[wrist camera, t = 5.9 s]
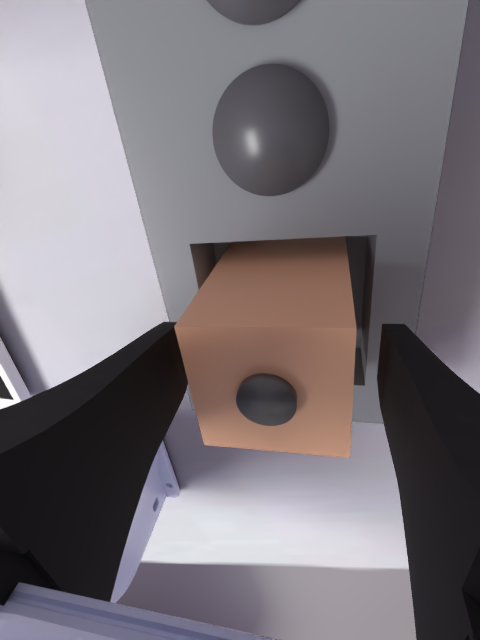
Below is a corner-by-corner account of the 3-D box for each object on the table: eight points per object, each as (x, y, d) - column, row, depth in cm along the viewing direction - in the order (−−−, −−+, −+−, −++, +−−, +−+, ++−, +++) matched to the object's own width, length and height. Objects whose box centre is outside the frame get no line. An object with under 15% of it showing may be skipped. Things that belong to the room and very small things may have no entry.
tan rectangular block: (342, 333, 16) (350, 467, 10) (244, 332, 17) (201, 452, 11) (345, 235, 13) (357, 335, 8) (232, 241, 14) (170, 332, 9)
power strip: (388, 369, 17) (401, 428, 14) (212, 363, 19) (191, 413, 16) (462, -247, 8) (544, -454, 5) (112, -131, 10) (20, -226, 7)
